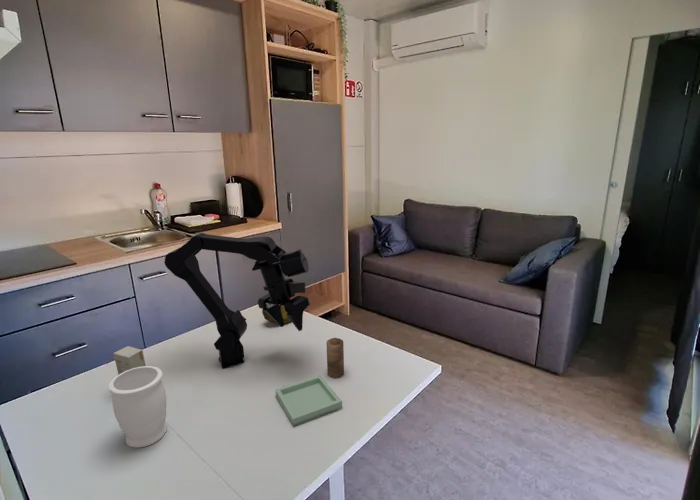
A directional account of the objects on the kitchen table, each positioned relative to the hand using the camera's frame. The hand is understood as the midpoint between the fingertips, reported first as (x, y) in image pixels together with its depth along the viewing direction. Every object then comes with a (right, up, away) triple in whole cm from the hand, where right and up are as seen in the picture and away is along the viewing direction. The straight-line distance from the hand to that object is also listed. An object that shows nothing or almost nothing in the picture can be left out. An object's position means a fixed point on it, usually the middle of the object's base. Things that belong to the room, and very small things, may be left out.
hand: (291, 328), depth 114 cm
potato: (-9, -4, +30) cm, 32 cm away
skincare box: (-41, -16, -9) cm, 45 cm away
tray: (+7, -16, -15) cm, 23 cm away
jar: (-30, -20, -25) cm, 44 cm away
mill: (+13, -13, -2) cm, 18 cm away
